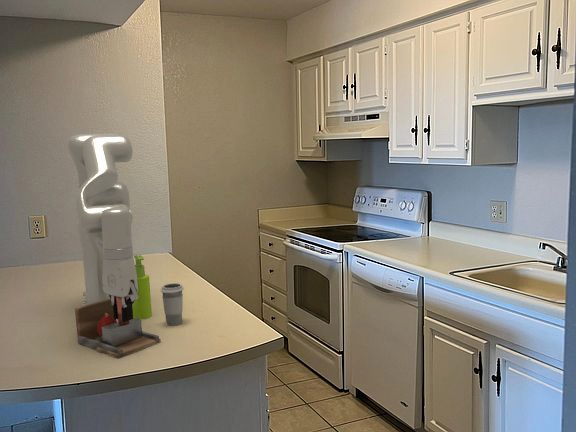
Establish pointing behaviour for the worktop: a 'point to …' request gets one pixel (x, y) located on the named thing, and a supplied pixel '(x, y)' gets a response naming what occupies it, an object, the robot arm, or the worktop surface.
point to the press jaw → (121, 329)
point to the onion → (105, 322)
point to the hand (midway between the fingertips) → (123, 318)
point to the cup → (173, 303)
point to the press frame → (88, 330)
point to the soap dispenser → (142, 292)
